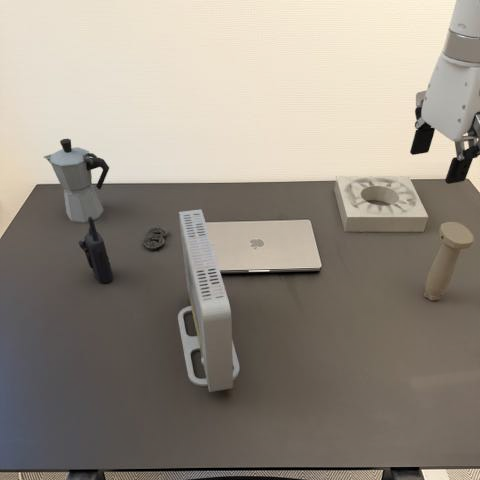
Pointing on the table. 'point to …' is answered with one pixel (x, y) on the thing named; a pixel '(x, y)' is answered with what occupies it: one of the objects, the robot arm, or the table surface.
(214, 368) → the network device
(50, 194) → the table surface
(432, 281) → the handle
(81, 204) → the coffee maker
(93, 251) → the two-way radio
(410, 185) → the square block with hole
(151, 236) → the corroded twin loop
